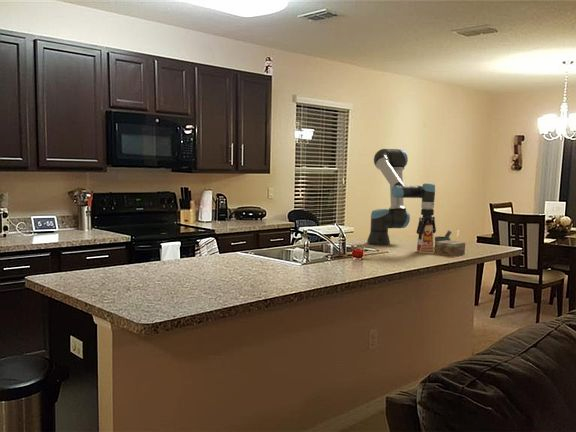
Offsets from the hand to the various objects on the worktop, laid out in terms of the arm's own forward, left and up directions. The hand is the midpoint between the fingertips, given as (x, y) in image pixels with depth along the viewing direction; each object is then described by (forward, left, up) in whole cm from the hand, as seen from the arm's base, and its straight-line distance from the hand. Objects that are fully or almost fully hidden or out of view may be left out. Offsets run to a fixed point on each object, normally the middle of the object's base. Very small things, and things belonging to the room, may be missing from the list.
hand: (425, 243), depth 327 cm
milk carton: (0, 0, -5) cm, 5 cm away
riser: (+12, +8, -5) cm, 15 cm away
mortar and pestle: (-3, +26, -5) cm, 27 cm away
